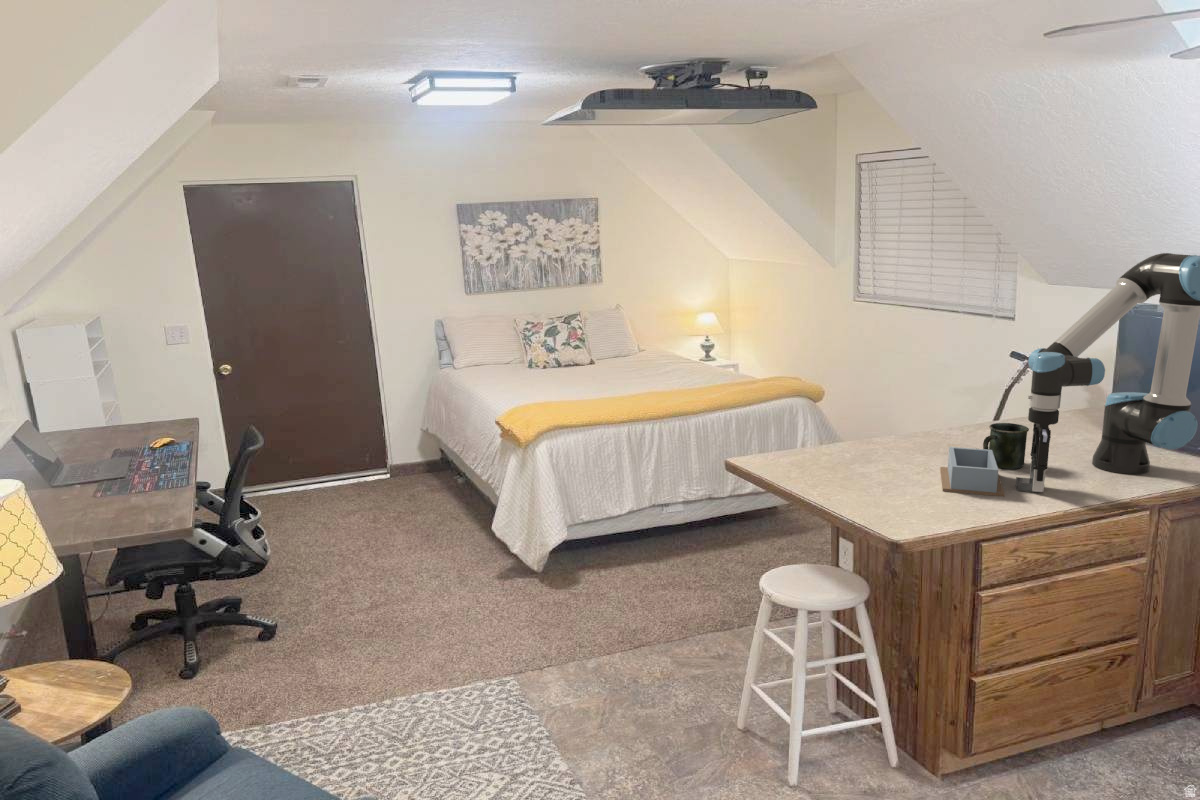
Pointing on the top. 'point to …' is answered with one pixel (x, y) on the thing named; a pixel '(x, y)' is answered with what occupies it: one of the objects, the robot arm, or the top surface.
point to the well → (971, 472)
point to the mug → (1007, 444)
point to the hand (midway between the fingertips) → (1036, 487)
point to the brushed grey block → (1027, 479)
